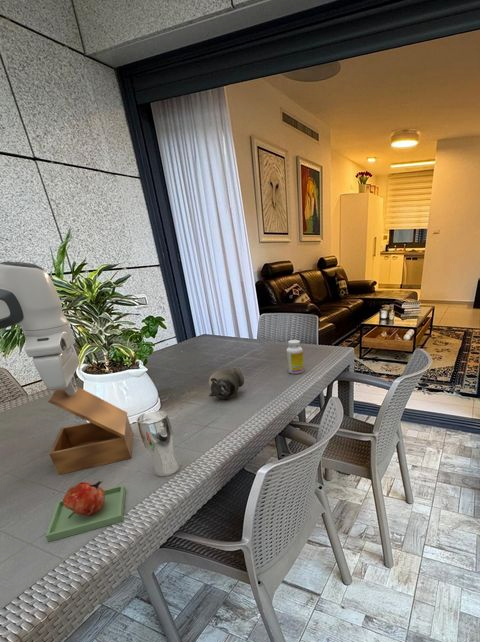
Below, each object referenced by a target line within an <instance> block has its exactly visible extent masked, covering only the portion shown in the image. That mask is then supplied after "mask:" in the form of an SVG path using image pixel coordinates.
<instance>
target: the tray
mask: <svg viewBox="0 0 480 642" xmlns="http://www.w3.org/2000/svg"><path fill="white" fill-rule="evenodd" d="M103 490H104V493H105V503H104V505H103V507H102V508H101V509H100V510H99V511H98V512H97V513H95V514H94V515H92V516H86V515H79V514H75V513H74V514H73V515H72V516H71V517H70V518H68V517H69V516H70V515H71V514H72V513H73V511H72V510H70V509H68V508H66V507H65V506H64V505H63V499H59V500H57V501H56V503H55V507H54V510H53V512H52V515H51V519H50V521H49V524H48V527H47V530H46V532H45V538H46V540H47V542H48V543H50V542H54V541H57V540H61V539H64V538H68V537H72V536H75V535H79V534H82V533H86V532H89V531H93V530H97V529H99V528H100V529H101V528H104V527H107V526H110V525H115V524H117V523H122V522H124V513H125V502H126V492H127V491H126V490H127V488H126V487H125V484H120V485H117V486H112V487H108V488H103Z"/></svg>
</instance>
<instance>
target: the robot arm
mask: <svg viewBox="0 0 480 642" xmlns="http://www.w3.org/2000/svg"><path fill="white" fill-rule="evenodd" d="M70 325H71V324H70V323H69V320H68V319H67V318H66V316H65V315H64V312H63V306H62V301H61V299H60V296H59V293H58V291H57V289H56V286H55V285H54V282H53V280H52V277H51V276H50V275H49V273H48V272H47V271H46V269H44V268H43V267H42V266H40V265H37V264H35V263H31V262H22V261H2V262H0V331H1V330H4V329H6V328H10V327H12V326H19V327H20V328H21V330H22V332H23V336H24V339H25V345H24V352H25V354H26V356H27V357H28V358H32V362H33V365H34V367H35V369H36V371H37V373H38V376H39V377H40V379H41V381H42V383H43V385H44V386H45V387H46V388H47V389H48V390H49V391H55V390H57V389H63V388H64V389H65V391H66V393H67V395H68V396H73V395H75V394H76V392H77V387H76V386H77V384H76V378H75V372H76V371H77V370H78V368H79V365H80V359H79V356H78V353H77V350H76V349H75V346H74V345H75V343H76V338H75V337H74V333H73V331H72V328H71V326H70Z"/></svg>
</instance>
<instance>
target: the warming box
mask: <svg viewBox="0 0 480 642" xmlns="http://www.w3.org/2000/svg"><path fill="white" fill-rule="evenodd" d="M133 441H134V432H133V428H132V426H131V422H130V420H129V417H128V416H127V419H126V428H125V436H124V437H123V438H122V437H120V436H118V435H116V434H114V433H112V432H110V431H108V430H106V429H103V428H101V427H99V426H97V425H95V424H93V423H91V422H89V421H88V422H84V423H78V424H74V425H68V426H63V427H60V429H59V431H58V433H57V436H56V437H55V439H54V442H53V444H52V446H51V448H50V450H49V453H48V455H49V457H50V460H51V462H52V463H53V465H54V467H55V470H56V472H57V473H58V475H66V474H70V473H73V472H77V471H83V470H87V469H91V468H95V467H100V466H104V465H108V464H112V463H117V462H122V461H125V460H130V459H132V458H133V457H132V455H133Z"/></svg>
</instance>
